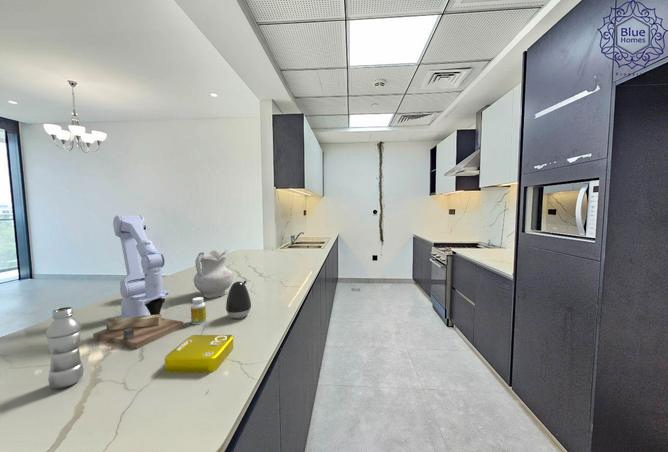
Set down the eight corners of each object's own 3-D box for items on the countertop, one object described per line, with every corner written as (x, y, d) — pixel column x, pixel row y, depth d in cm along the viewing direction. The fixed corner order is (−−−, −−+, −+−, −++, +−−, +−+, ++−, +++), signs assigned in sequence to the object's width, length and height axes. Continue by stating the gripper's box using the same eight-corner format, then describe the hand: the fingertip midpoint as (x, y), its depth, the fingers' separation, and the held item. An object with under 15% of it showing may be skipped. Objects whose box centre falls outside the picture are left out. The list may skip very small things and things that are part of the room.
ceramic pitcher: (220, 304, 134) (223, 254, 132) (182, 301, 134) (184, 252, 133) (237, 291, 155) (239, 249, 154) (204, 289, 155) (206, 246, 154)
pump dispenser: (256, 313, 118) (255, 279, 117) (241, 322, 108) (240, 285, 107) (237, 310, 121) (236, 277, 121) (220, 319, 112) (219, 283, 111)
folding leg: (104, 330, 97) (104, 320, 96) (109, 327, 100) (108, 317, 99) (158, 324, 101) (158, 315, 101) (161, 321, 104) (161, 312, 104)
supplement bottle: (200, 325, 106) (199, 301, 106) (188, 324, 107) (187, 300, 107) (208, 319, 111) (208, 296, 111) (197, 318, 112) (196, 296, 112)
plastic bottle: (64, 377, 73) (60, 305, 72) (91, 375, 74) (86, 304, 72) (40, 393, 67) (35, 314, 65) (69, 391, 67) (65, 313, 66)
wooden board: (93, 339, 95) (92, 325, 95) (143, 319, 112) (143, 308, 112) (136, 348, 88) (135, 334, 88) (183, 326, 105) (183, 314, 105)
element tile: (191, 346, 90) (191, 333, 90) (235, 347, 89) (235, 333, 89) (161, 373, 75) (161, 357, 75) (214, 374, 74) (213, 357, 74)
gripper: (149, 289, 98) (151, 325, 99) (175, 279, 112) (176, 311, 113) (131, 289, 98) (133, 325, 99) (159, 279, 113) (161, 310, 114)
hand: (155, 317), depth 106 cm, fingers closed
